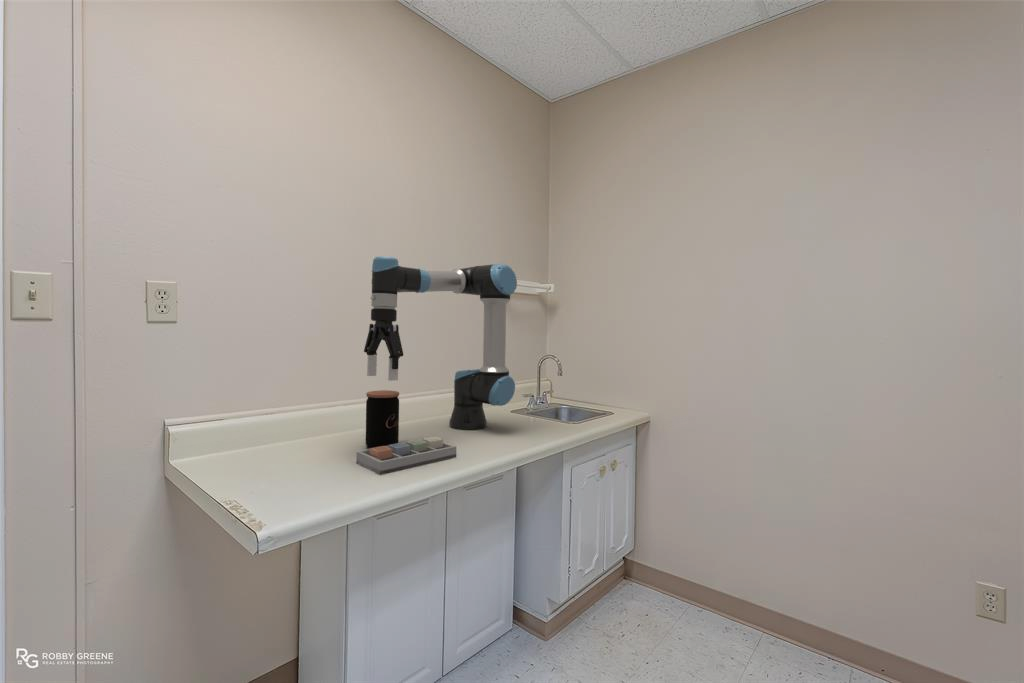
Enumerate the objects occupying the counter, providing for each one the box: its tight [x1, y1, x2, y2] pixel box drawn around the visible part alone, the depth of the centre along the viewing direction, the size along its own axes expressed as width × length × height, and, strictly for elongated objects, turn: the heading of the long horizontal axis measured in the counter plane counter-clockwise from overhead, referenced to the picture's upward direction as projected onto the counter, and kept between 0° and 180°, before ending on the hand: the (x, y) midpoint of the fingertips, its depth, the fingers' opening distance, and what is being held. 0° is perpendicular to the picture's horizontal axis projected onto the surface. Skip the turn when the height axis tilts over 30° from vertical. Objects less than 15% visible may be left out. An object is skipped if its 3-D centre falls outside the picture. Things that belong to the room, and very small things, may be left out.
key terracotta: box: [369, 446, 392, 460], centre depth 132 cm, size 5×5×3 cm
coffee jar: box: [365, 389, 400, 449], centre depth 153 cm, size 11×11×18 cm
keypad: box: [355, 438, 457, 476], centre depth 139 cm, size 26×14×3 cm, turn 135°
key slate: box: [388, 442, 410, 456], centre depth 136 cm, size 5×5×2 cm
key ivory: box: [422, 436, 444, 449], centre depth 145 cm, size 5×5×2 cm
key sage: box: [405, 439, 427, 452], centre depth 141 cm, size 5×5×3 cm
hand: (382, 378), depth 140 cm, fingers open, 13 cm apart
